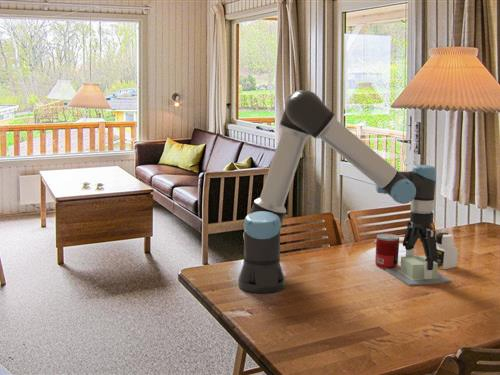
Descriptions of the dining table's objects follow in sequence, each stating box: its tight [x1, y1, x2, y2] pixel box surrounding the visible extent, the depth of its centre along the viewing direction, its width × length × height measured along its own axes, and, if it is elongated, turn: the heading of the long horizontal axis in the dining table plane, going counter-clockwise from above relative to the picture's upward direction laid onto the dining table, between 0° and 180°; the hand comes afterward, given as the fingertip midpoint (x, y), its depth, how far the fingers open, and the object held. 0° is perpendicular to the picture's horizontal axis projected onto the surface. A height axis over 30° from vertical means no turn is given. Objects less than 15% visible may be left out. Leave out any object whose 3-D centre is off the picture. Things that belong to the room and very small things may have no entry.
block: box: [399, 255, 439, 279], centre depth 201 cm, size 9×9×5 cm
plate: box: [385, 267, 453, 287], centre depth 202 cm, size 16×16×1 cm
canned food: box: [374, 233, 400, 270], centre depth 212 cm, size 8×8×11 cm
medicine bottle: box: [434, 232, 459, 270], centre depth 212 cm, size 7×7×12 cm
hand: (418, 273), depth 202 cm, fingers open, 11 cm apart
